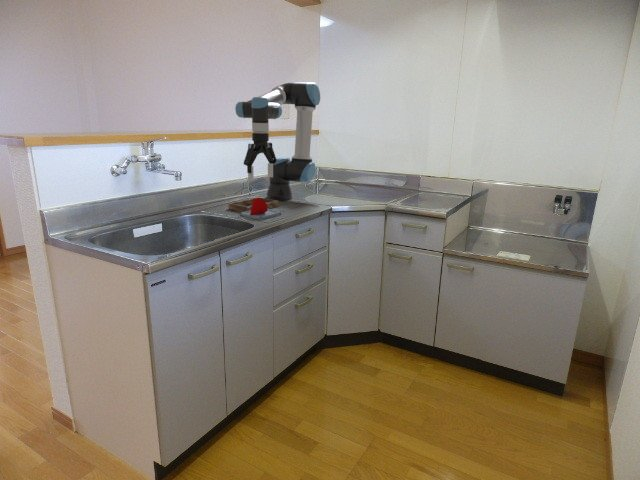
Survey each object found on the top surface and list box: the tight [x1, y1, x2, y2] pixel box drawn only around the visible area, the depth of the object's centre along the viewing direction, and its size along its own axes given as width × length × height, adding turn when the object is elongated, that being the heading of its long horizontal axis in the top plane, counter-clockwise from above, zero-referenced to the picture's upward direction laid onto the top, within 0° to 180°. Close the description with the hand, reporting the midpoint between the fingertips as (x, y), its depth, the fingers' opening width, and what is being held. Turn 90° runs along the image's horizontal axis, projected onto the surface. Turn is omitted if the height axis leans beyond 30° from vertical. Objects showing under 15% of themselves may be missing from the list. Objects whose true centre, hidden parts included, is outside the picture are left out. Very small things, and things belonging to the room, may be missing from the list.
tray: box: [239, 208, 282, 221], centre depth 204 cm, size 15×13×2 cm
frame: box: [228, 197, 280, 213], centre depth 219 cm, size 23×14×3 cm, turn 145°
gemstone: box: [250, 197, 268, 215], centre depth 200 cm, size 9×9×10 cm
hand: (260, 178), depth 199 cm, fingers open, 13 cm apart
